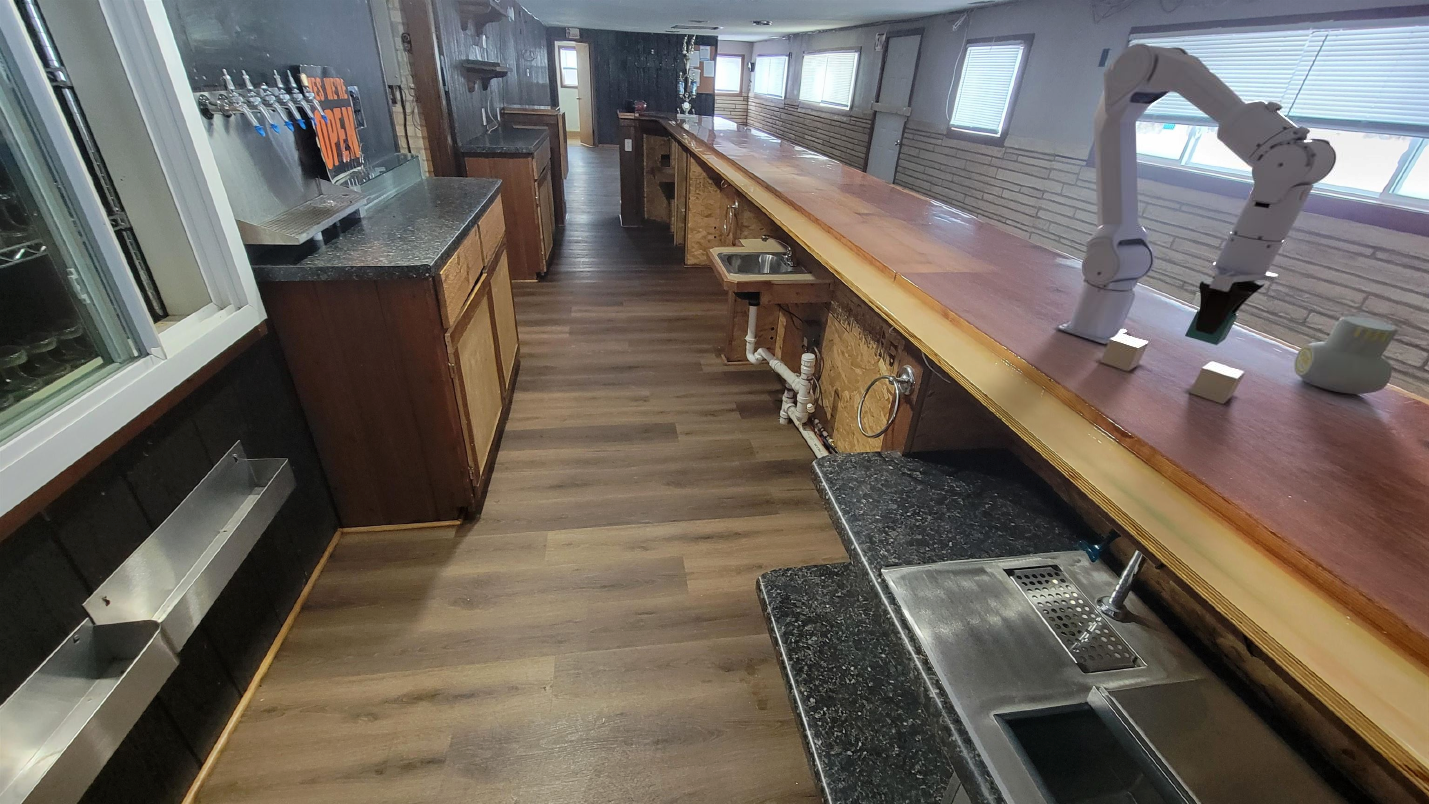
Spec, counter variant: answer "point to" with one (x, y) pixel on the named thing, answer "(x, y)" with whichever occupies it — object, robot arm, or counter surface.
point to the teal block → (1215, 337)
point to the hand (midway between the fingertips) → (1209, 329)
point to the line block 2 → (1217, 382)
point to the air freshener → (1348, 357)
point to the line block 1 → (1124, 352)
